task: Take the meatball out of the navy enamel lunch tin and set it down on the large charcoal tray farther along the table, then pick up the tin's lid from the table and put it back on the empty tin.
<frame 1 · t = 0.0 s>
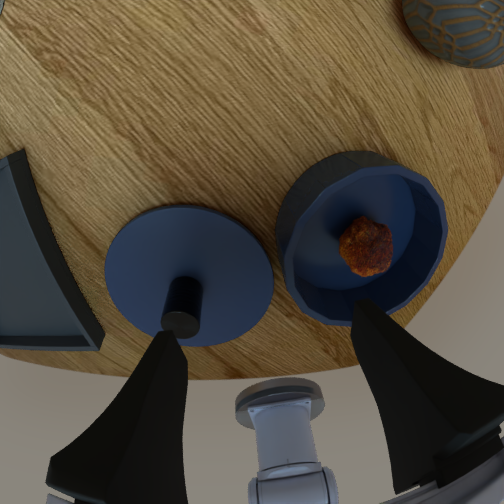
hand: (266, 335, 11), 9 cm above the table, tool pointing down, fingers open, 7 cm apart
tray: (2, 268, 18), on the table
meatball: (354, 229, 19), resting on tin
tin: (353, 229, 19), on the table
tin lid: (186, 285, 20), point 1 cm above the table
vase: (426, 22, 11), on the table
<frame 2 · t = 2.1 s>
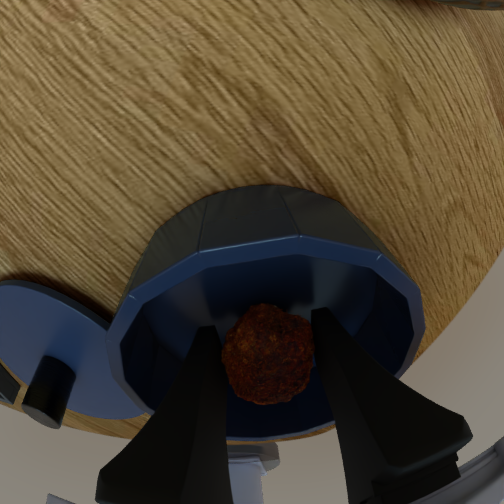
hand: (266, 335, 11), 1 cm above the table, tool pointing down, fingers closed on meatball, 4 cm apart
meatball: (262, 312, 12), resting on tin, touching gripper
tin: (262, 310, 12), on the table
tin lid: (61, 362, 13), point 1 cm above the table
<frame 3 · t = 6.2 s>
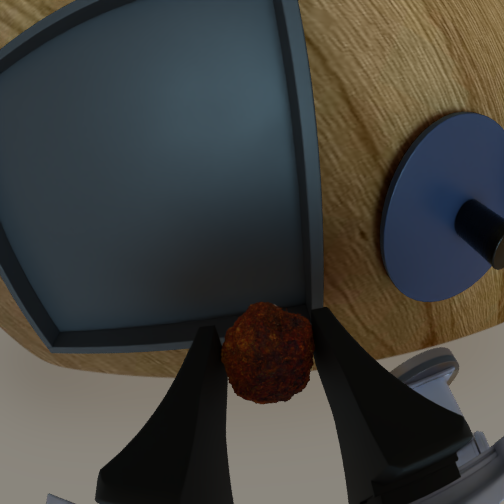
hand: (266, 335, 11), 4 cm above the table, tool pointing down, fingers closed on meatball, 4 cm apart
tray: (115, 186, 12), on the table
meatball: (262, 311, 12), point 3 cm above the table, touching gripper
tin lid: (463, 214, 13), point 1 cm above the table
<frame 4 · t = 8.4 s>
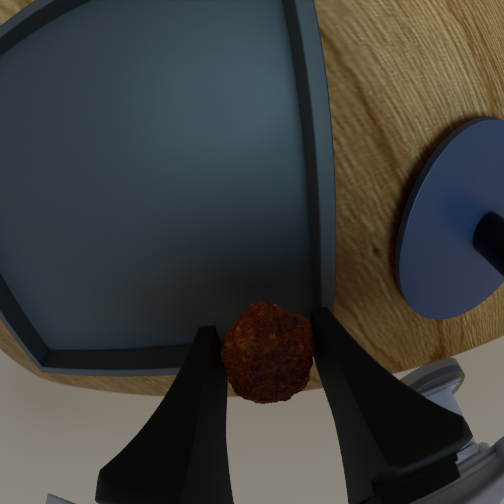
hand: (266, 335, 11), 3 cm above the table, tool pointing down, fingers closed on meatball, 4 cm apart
tray: (99, 199, 10), on the table
meatball: (262, 311, 12), point 1 cm above the table, touching gripper
tin lid: (481, 227, 11), point 1 cm above the table
when the fingers open (3 cm above the table, at t = 10.4 s): meatball stays where it is, resting on tray.
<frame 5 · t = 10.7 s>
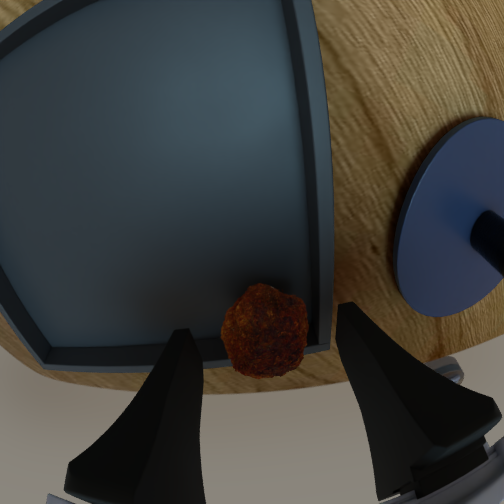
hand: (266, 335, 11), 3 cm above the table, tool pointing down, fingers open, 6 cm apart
tray: (102, 197, 10), on the table
meatball: (259, 294, 13), resting on tray
tin lid: (478, 226, 12), point 1 cm above the table
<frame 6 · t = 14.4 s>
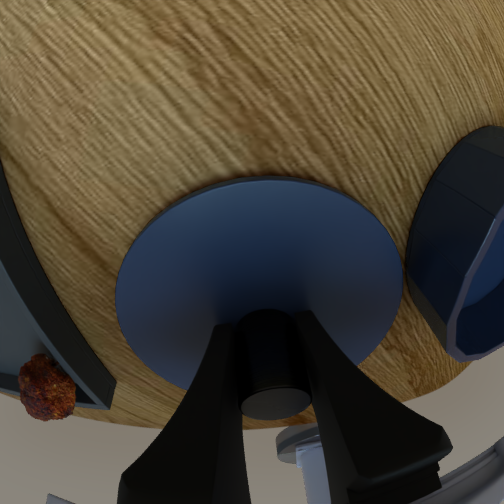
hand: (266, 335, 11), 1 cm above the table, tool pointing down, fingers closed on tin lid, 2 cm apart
meatball: (55, 357, 13), resting on tray
tin: (485, 231, 11), on the table
tin lid: (263, 321, 11), point 1 cm above the table, touching gripper
when the fingers open (5 cm above the table, at t = 17.9 s): tin lid stays where it is, resting on tin.
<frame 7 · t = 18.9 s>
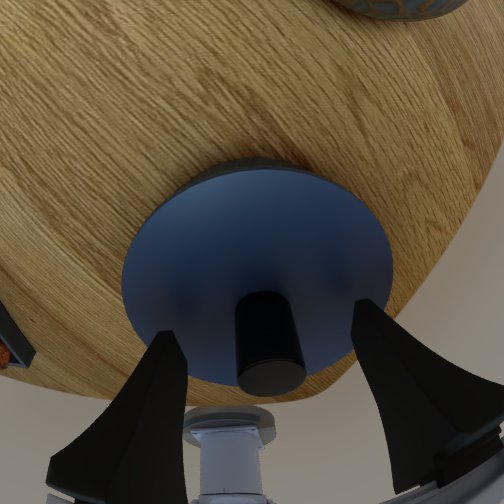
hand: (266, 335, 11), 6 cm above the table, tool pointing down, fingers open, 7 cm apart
meatball: (1, 333, 18), resting on tray
tin: (255, 258, 16), on the table
tin lid: (261, 304, 12), point 4 cm above the table, touching tin
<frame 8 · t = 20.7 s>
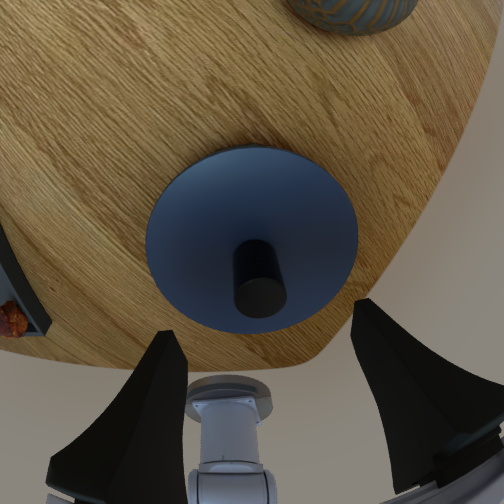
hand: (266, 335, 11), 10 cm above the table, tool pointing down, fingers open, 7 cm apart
meatball: (20, 305, 21), resting on tray
tin lid: (253, 253, 16), point 4 cm above the table, touching tin
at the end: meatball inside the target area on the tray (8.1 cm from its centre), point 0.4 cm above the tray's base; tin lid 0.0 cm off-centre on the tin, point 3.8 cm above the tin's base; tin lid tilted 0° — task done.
